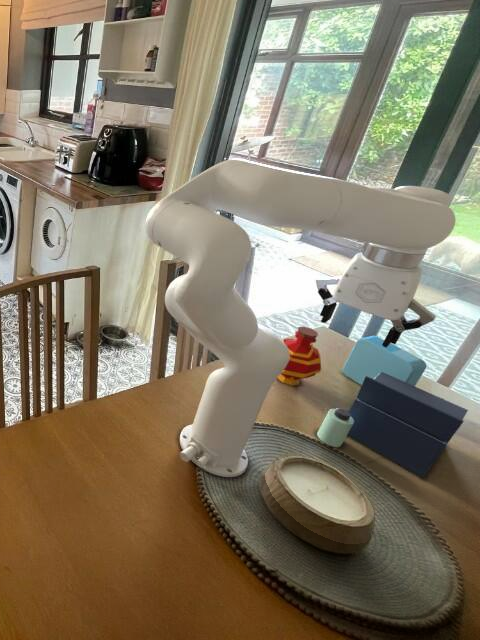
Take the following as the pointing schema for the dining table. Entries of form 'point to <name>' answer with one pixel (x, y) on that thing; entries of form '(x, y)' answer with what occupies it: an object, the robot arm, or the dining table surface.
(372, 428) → the carton
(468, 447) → the dining table surface
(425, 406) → the flap
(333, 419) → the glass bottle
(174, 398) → the dining table surface
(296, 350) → the potion bottle
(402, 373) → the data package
